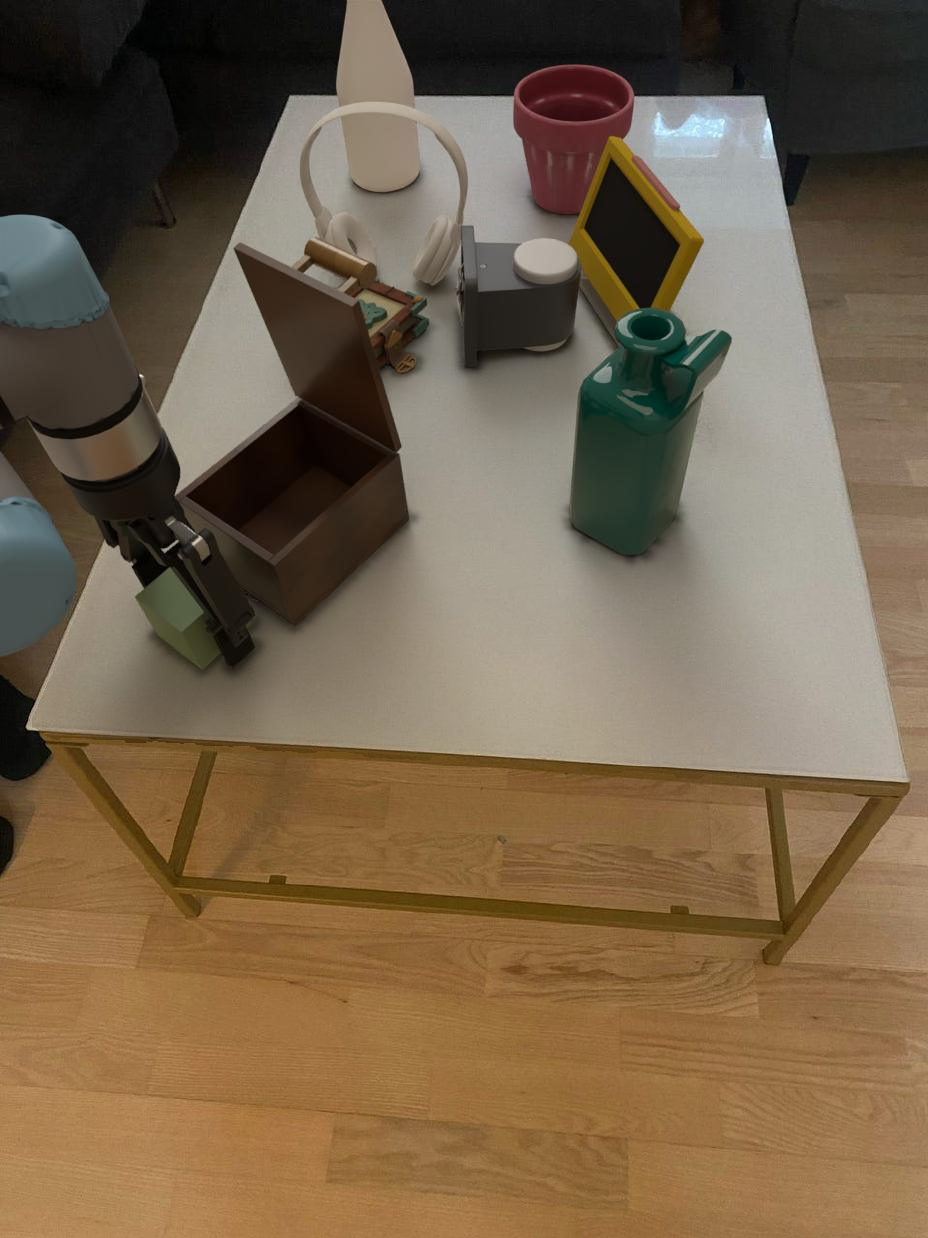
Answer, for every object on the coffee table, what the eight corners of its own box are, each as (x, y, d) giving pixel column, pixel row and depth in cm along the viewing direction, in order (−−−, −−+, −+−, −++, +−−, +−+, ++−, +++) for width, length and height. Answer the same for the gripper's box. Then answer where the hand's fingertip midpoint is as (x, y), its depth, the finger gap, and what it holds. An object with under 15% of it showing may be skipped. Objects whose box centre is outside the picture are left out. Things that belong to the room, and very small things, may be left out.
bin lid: (352, 307, 65) (403, 258, 66) (232, 247, 69) (283, 203, 71) (396, 453, 79) (437, 409, 81) (295, 395, 84) (335, 355, 86)
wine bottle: (369, 202, 118) (329, -72, 93) (339, 169, 122) (294, -100, 98) (433, 180, 120) (411, -94, 95) (401, 148, 125) (372, -120, 100)
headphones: (467, 299, 105) (458, 126, 89) (315, 292, 107) (278, 122, 91) (475, 262, 109) (468, 90, 93) (329, 256, 111) (295, 87, 95)
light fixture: (577, 368, 98) (589, 281, 89) (457, 371, 98) (456, 284, 89) (567, 306, 105) (577, 218, 96) (453, 308, 104) (453, 221, 95)
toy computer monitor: (565, 272, 107) (572, 140, 94) (626, 257, 108) (641, 124, 95) (633, 378, 96) (652, 245, 83) (700, 361, 97) (729, 227, 84)
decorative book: (257, 382, 99) (246, 345, 95) (357, 296, 107) (351, 259, 102) (351, 428, 94) (344, 391, 90) (449, 335, 102) (446, 297, 98)
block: (202, 670, 78) (181, 632, 73) (157, 635, 80) (134, 596, 75) (252, 624, 81) (235, 584, 76) (207, 592, 83) (187, 551, 78)
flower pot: (644, 184, 117) (657, 80, 106) (587, 239, 111) (595, 134, 100) (551, 154, 122) (554, 52, 111) (492, 204, 116) (489, 102, 105)
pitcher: (560, 522, 85) (571, 331, 67) (610, 470, 89) (634, 274, 71) (647, 572, 82) (685, 384, 64) (696, 515, 85) (746, 321, 67)
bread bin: (296, 626, 80) (274, 566, 73) (202, 560, 85) (172, 497, 78) (409, 518, 87) (399, 453, 79) (316, 462, 92) (298, 396, 84)
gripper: (258, 481, 59) (320, 661, 78) (59, 356, 67) (159, 546, 86) (171, 553, 56) (257, 723, 75) (-26, 413, 64) (96, 597, 83)
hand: (204, 628), depth 80 cm, fingers open, 9 cm apart
